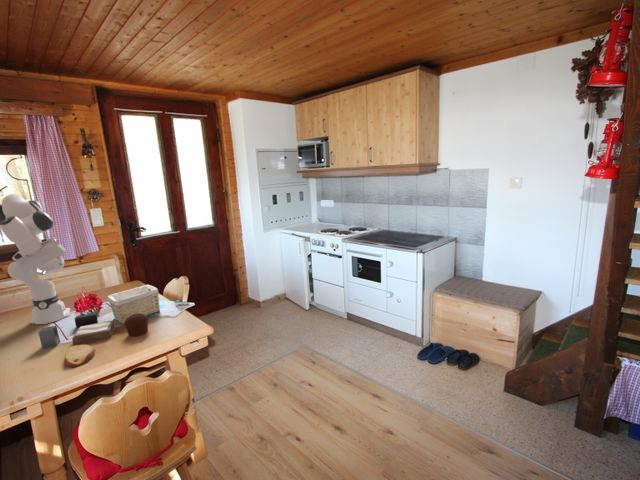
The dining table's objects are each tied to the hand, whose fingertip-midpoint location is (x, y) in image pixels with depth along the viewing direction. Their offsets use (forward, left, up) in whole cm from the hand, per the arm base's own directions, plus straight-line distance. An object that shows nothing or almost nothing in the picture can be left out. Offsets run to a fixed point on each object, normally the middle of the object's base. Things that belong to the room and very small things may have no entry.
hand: (53, 269), depth 168 cm
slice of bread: (+25, +9, -38) cm, 47 cm away
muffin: (+12, +33, -38) cm, 52 cm away
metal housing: (+4, -7, -38) cm, 39 cm away
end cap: (-14, +5, -38) cm, 41 cm away
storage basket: (-16, +30, -38) cm, 51 cm away
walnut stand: (+4, +12, -38) cm, 40 cm away
